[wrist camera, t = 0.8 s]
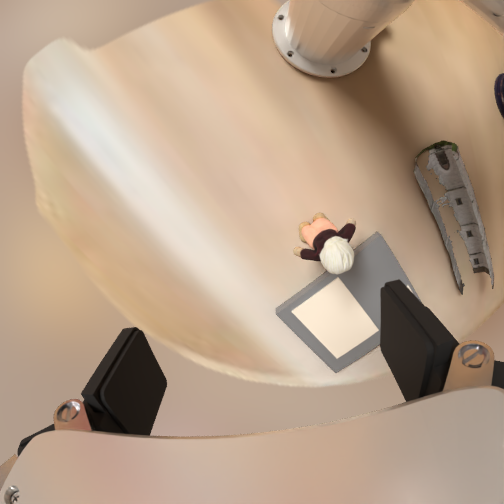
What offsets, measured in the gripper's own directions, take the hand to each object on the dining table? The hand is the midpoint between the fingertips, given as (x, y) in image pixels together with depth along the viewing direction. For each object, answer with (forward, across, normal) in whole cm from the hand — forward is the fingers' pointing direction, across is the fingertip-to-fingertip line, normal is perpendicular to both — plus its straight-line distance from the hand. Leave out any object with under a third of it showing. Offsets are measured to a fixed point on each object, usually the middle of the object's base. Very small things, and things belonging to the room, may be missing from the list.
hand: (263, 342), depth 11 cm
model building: (+28, -28, +7) cm, 40 cm away
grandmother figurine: (+28, -6, +4) cm, 29 cm away
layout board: (+28, -11, +18) cm, 35 cm away
